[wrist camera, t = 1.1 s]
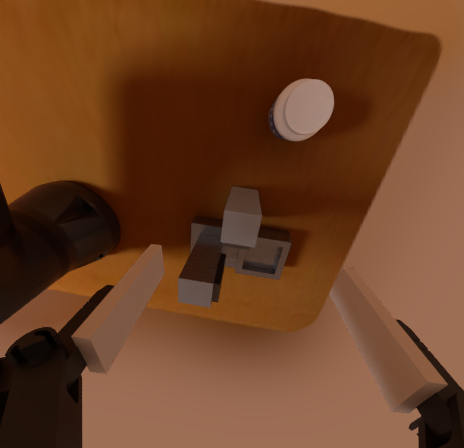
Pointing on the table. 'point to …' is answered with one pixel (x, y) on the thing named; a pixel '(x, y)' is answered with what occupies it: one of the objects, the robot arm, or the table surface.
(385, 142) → the table surface
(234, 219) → the long gray rectangular block
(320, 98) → the pill bottle
